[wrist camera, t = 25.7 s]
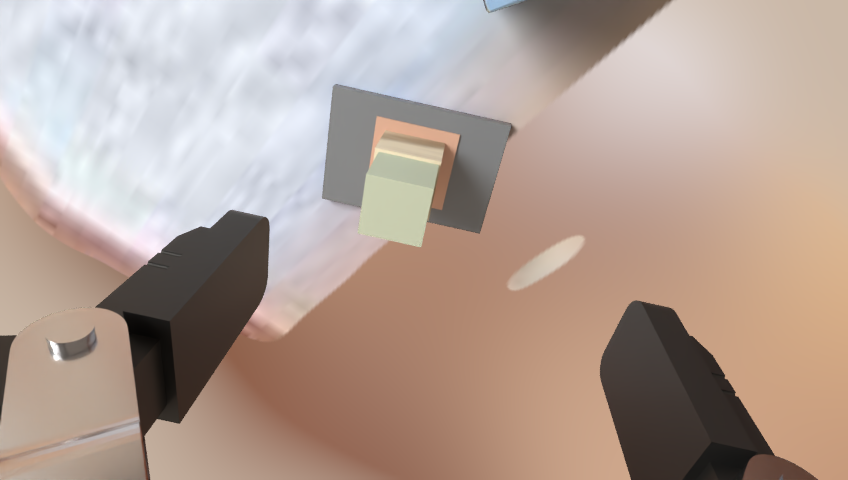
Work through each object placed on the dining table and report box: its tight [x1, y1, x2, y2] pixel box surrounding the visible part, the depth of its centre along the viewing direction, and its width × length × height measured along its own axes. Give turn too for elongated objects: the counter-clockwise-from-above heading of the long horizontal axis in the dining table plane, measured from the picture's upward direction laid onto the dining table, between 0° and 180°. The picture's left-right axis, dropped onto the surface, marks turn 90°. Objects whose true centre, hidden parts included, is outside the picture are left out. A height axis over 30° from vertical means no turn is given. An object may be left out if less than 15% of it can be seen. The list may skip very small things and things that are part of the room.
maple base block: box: [373, 130, 445, 221], centre depth 42 cm, size 6×6×5 cm
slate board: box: [322, 84, 511, 233], centre depth 44 cm, size 11×16×1 cm
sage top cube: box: [358, 152, 439, 247], centre depth 37 cm, size 5×5×5 cm
